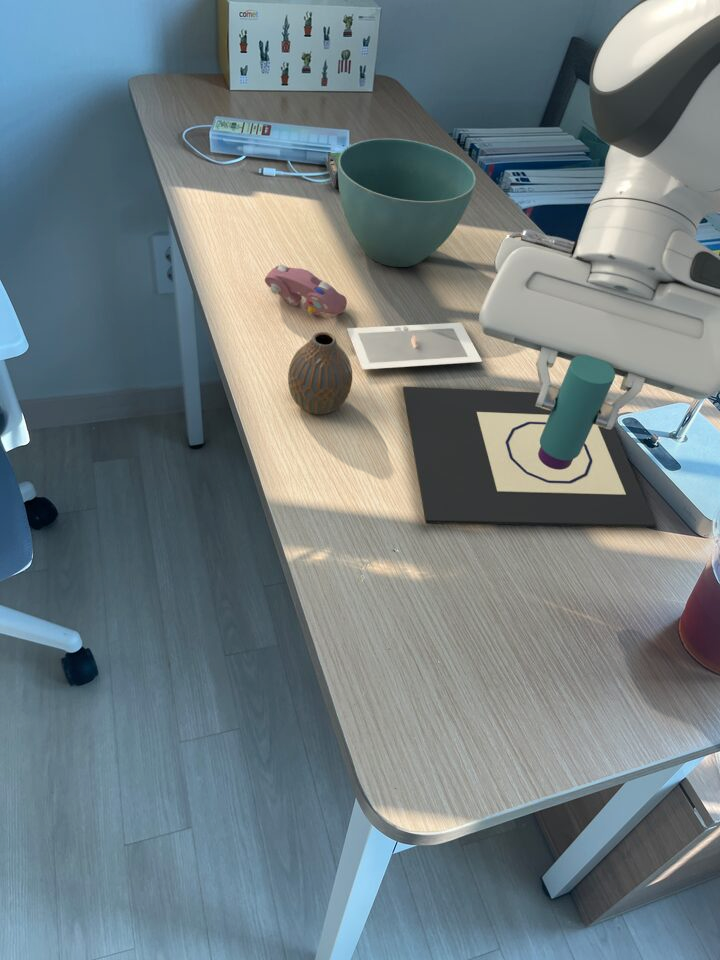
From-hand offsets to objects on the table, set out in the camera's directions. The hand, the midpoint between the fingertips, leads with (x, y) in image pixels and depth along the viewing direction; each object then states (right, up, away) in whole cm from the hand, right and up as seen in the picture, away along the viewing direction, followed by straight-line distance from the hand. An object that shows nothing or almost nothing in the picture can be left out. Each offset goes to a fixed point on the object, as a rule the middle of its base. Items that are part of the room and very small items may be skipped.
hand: (573, 417), depth 63 cm
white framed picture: (-11, +10, +30) cm, 34 cm away
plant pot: (-13, +27, +45) cm, 55 cm away
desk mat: (0, -2, +20) cm, 20 cm away
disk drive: (-16, +44, +61) cm, 77 cm away
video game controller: (-25, +17, +34) cm, 45 cm away
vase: (-22, +3, +22) cm, 31 cm away
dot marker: (0, -3, +4) cm, 5 cm away
